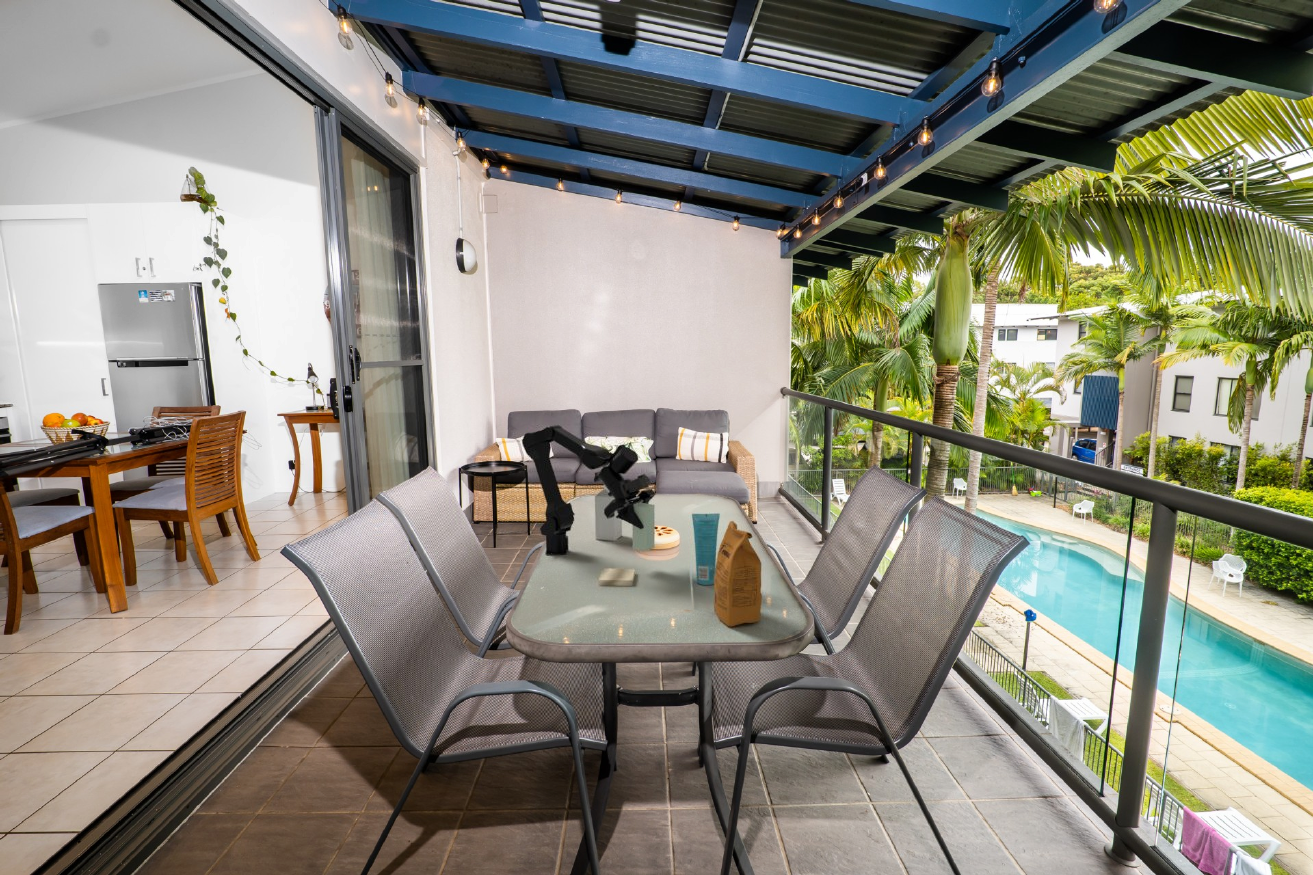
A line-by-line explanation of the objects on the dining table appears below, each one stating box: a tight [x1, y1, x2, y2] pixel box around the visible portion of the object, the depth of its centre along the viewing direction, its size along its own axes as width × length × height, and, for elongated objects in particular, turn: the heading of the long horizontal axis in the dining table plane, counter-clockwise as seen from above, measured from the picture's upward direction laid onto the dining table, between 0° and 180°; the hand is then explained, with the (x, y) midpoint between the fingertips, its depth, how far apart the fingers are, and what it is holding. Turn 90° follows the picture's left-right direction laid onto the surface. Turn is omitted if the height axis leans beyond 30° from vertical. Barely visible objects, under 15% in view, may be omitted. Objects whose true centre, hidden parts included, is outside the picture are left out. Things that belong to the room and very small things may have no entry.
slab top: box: [598, 568, 636, 587], centre depth 165 cm, size 9×9×2 cm
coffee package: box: [713, 520, 763, 627], centre depth 141 cm, size 10×12×22 cm
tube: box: [691, 512, 720, 586], centre depth 164 cm, size 7×5×19 cm, turn 100°
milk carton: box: [594, 484, 623, 542], centre depth 207 cm, size 7×7×19 cm
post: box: [632, 503, 656, 552], centre depth 172 cm, size 4×4×12 cm
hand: (647, 526), depth 171 cm, fingers closed on post, 4 cm apart
